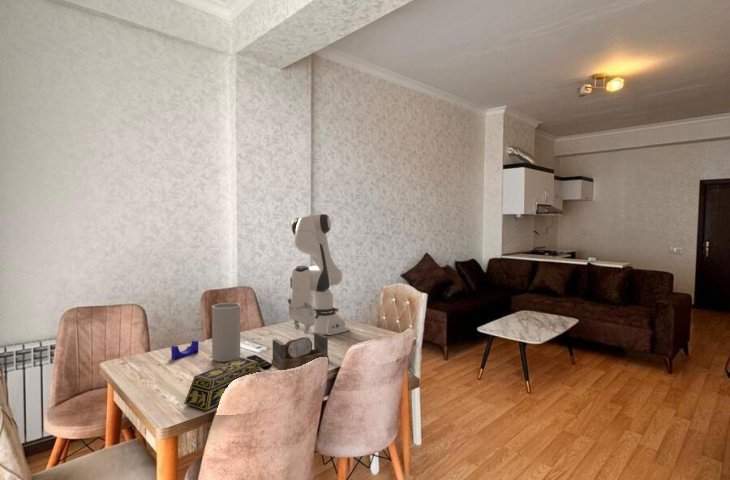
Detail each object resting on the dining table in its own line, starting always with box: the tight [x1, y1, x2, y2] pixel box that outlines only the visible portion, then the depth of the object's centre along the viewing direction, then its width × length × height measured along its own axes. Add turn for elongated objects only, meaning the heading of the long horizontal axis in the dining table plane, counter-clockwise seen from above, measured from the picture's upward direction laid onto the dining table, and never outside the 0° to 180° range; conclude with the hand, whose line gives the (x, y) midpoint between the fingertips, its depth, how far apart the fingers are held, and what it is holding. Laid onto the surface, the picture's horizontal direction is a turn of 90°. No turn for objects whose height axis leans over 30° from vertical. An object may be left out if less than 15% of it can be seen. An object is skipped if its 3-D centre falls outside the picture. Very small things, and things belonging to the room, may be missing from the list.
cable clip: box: [171, 339, 199, 361], centre depth 187 cm, size 12×4×6 cm, turn 147°
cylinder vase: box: [211, 302, 241, 363], centre depth 183 cm, size 12×12×25 cm
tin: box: [285, 336, 313, 359], centre depth 180 cm, size 15×3×8 cm, turn 140°
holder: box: [271, 332, 330, 371], centre depth 179 cm, size 24×10×11 cm, turn 124°
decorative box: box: [183, 356, 262, 412], centre depth 148 cm, size 11×30×9 cm, turn 153°
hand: (301, 331), depth 179 cm, fingers open, 8 cm apart
